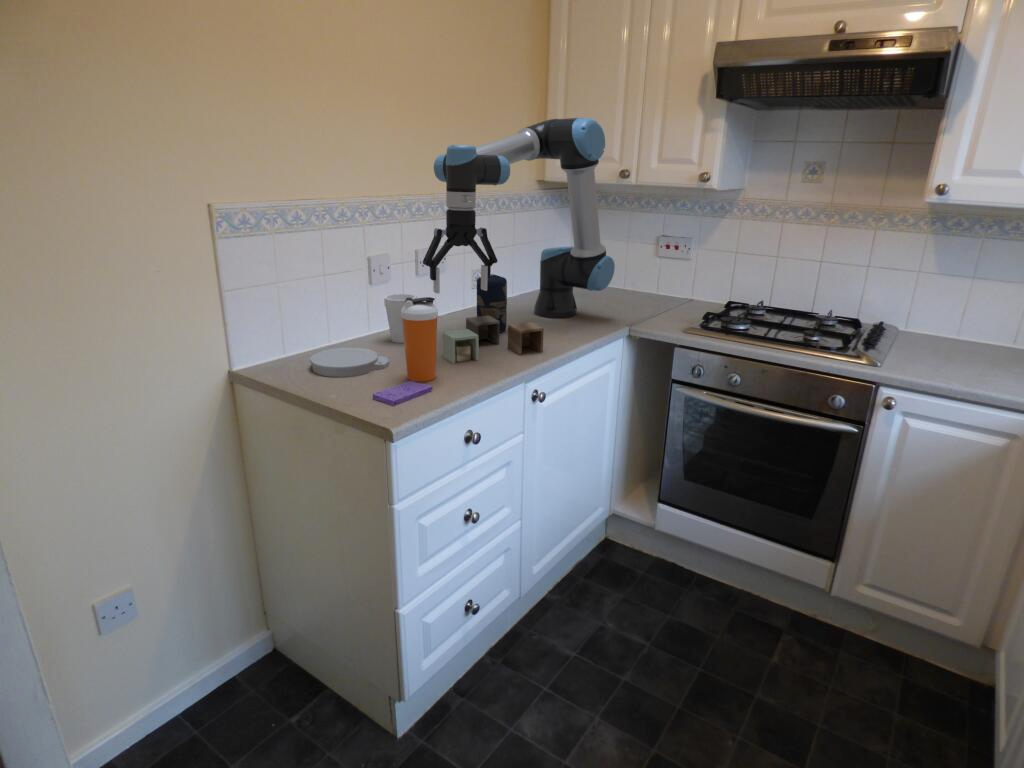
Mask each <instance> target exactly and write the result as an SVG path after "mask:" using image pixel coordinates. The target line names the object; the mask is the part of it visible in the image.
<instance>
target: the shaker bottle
mask: <svg viewBox="0 0 1024 768" xmlns="http://www.w3.org/2000/svg"><path fill="white" fill-rule="evenodd" d="M434 301H435V297H431V296H430V297H428V296H427V297H426V296H424V297H417V298H416V299H412V298H411V297H407V298H406V299H405V305H404V306H403V308H402V309H401V318H402V322H403V333H404V343H403V344H404V353H405V355H404V356H405V364H406V376H407V379H408V380H409V381H414V382H417V383H423V382H430V381H433V380H434V379H436V377H437V347H438V346H437V345H438V344H437V342H438V341H437V337H438V336H437V335H438V333H437V332H438V317H439V311H438V310H439V309H438V308H437V306H436V305H434Z"/></svg>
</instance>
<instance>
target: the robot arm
mask: <svg viewBox="0 0 1024 768" xmlns="http://www.w3.org/2000/svg"><path fill="white" fill-rule="evenodd" d="M605 148H606V136H605V133H604V129H603V128H602V125H601V124H600V123H598V121H597V120H596V119H593V118H585V117H572V118H553V119H551V118H550V119H548V120H544V121H541V122H537V123H534V124H532V125H529V126H526V127H522V128H520V130H518V132H517V133H516V134H512V135H510V136H505V137H503V138H500V139H497V140H493V141H491V142H487V143H484V144H481V145H478V146H475V145H469V144H468V145H467V144H466V145H465V144H450V145H449V146H447V148H446V153H444V154H443V153H442V154H439V155H438V156H437V157H436V158H435V159H434V163H433V172H434V175H435V177H436V178H437V179H438V181H440V182H442V183H445V185H446V193H445V194H446V195H445V198H446V200H445V206H446V208H447V210H446V213H445V214H446V215H445V216H446V217H445V219H446V222H445V224H446V227H445V229H441V228H438V227H437V228H434V232H433V238H432V240H431V243H430V244H429V247H428V249H427V251H426V253H425V255H424V257H423V260H422V265H425V266H427V267H428V268H429V278H430V281H433V283H432V284H433V288H432V289H433V293H435V294H441V291H440V290H441V289H440V288H441V287H440V286H441V285H440V281H441V279H440V277H441V275H440V268H439V267H438V266H439V264H440V263H441V262H442V260H443V259H444V257H446V255H447V254H448V253H449V251H450V250H451V249H452V248H453V247H454V246H455V247H461V246H463V247H468V246H469V247H471V250H473V252H474V253H475V254H476V255H477V257H478V258H479V259H480V261H482V263H483V264H481V265H480V277H481V289H482V290H484V291H487V278H490V274H491V267H493V265H494V264H497V263H498V258H497V256H496V254H495V252H494V249H493V247H492V244H491V242H490V239H489V238H488V232H487V231H488V230H487V228H485V227H479V228H476V216H477V215H476V210H474V209H475V208H476V204H477V203H476V202H477V199H476V197H477V193H476V191H477V185H478V186H482V185H483V186H484V185H485V186H498V185H504V184H505V183H506V182H507V181H508V180H509V178H510V176H511V164H515V163H518V162H520V161H523V160H525V161H528V162H530V161H534V160H538V159H540V160H541V159H542V160H543V159H544V160H545V159H546V160H547V159H549V160H559V162H560V168H561V170H562V171H563V172H564V173H566V183H567V189H568V191H567V192H568V200H569V209H570V210H569V211H570V219H571V228H572V236H573V246H559V247H549V248H544V249H543V250H542V251H541V252H540V253H541V254H540V262H539V263H540V264H539V265H540V266H539V268H540V269H539V276H540V277H539V279H540V280H539V292H538V295H537V299H536V300H535V304H534V307H533V311H534V312H533V313H534V314H535V315H536V316H540V317H543V318H552V319H562V318H563V319H565V318H571V317H575V316H576V315H577V314H578V306H577V302H576V298H575V295H574V288H576V289H583V290H587V291H596V292H600V291H603V290H605V289H607V287H609V285H610V283H611V282H612V280H613V277H614V274H615V267H616V266H615V260H614V259H613V258H612V257H611V256H610V255H607V249H606V246H605V245H603V244H602V243H601V233H600V232H601V231H600V230H601V229H600V222H599V211H598V209H599V208H598V195H597V186H596V175H595V174H596V172H595V169H596V167H597V166H598V165H599V162H600V161H599V159H600V158H601V157H603V154H604V153H605ZM476 235H477V236H478V237H479V239H480V242H481V244H482V245H483V248H484V250H485V252H486V254H485V252H484V251H483V250H482V248H481V247H480V245H478V242H477V241H476V240H475V239H474V238H476ZM444 236H446V238H447V239H446V240H445V241H444V242H443V245H442V246H441V248H439V250H438V247H439V246H440V243H441V240H442V238H444ZM437 250H438V252H437ZM436 252H437V253H436Z"/></svg>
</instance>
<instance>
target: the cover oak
mask: <svg viewBox="0 0 1024 768" xmlns="http://www.w3.org/2000/svg"><path fill="white" fill-rule="evenodd" d="M465 329H469V330H470V331H472V332H474V333H475V334H477V335H479V340H489V341H491V342H492V343H494V344H496V345H500V339H501V337H500V336H501V335H500V333H501V332H500V321H498V320H497V319H495V318H493V317H491V316H479V317H477V316H470V317H465Z"/></svg>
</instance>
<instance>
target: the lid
mask: <svg viewBox="0 0 1024 768" xmlns="http://www.w3.org/2000/svg"><path fill="white" fill-rule="evenodd" d="M309 362H310V364H311V365H312V370H313V372H314V373H316V374H318V375H321V376H325V377H332V378H333V377H334V378H335V377H336V378H337V377H340V378H341V377H343V378H345V377H351V376H352V377H353V376H359V375H364V374H367V373H369V372H372V371H373V372H374V371H379V370H384V369H387V368H389V367H390V359H388V357H387V356H383V355H381V354H378V353H377V352H376V351H374V350H372V349H368V348H364V347H337V348H331V349H325V350H322V351H319V352H316V353H314V354H313V355H312V356H311V357H310V358H309Z"/></svg>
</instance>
